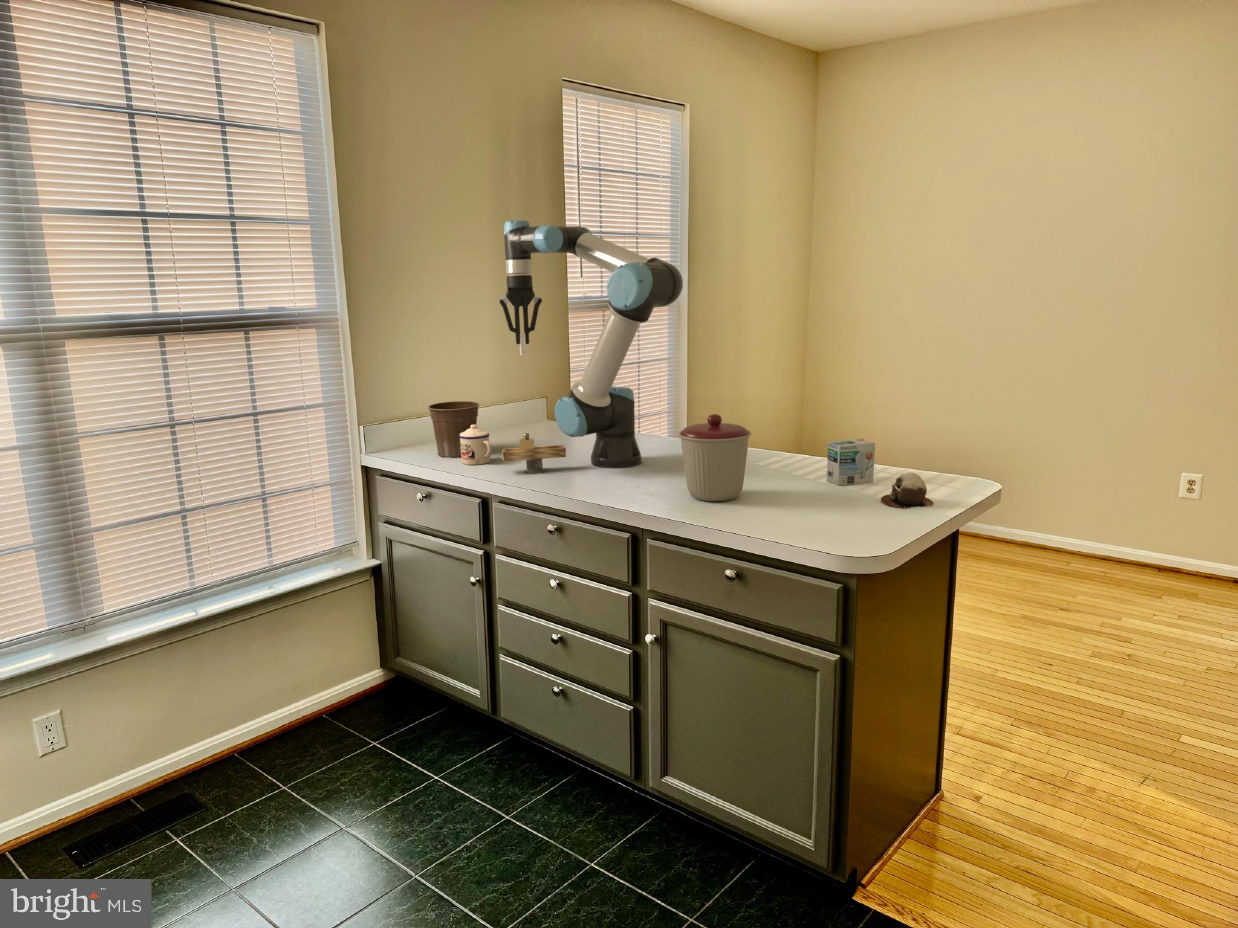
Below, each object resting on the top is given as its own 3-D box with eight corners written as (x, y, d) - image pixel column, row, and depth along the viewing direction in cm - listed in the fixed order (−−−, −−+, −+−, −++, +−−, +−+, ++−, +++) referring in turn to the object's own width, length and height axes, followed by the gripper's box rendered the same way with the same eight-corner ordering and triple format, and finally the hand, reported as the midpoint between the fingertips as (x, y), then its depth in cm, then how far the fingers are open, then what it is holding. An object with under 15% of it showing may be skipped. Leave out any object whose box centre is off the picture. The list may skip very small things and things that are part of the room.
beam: (563, 466, 262) (562, 444, 260) (566, 470, 256) (565, 448, 255) (502, 471, 258) (501, 448, 257) (504, 475, 252) (503, 452, 251)
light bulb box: (838, 486, 230) (839, 445, 227) (825, 480, 236) (826, 441, 234) (874, 482, 233) (876, 442, 230) (861, 477, 239) (862, 438, 237)
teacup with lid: (455, 463, 271) (452, 425, 269) (478, 458, 278) (476, 421, 275) (479, 468, 263) (477, 429, 261) (503, 462, 270) (501, 425, 267)
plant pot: (473, 459, 275) (469, 408, 272) (423, 459, 278) (419, 408, 274) (488, 449, 291) (485, 401, 287) (442, 449, 293) (438, 401, 290)
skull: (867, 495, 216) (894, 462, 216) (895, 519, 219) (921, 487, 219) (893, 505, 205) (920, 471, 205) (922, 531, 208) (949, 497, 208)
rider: (533, 451, 257) (532, 432, 256) (534, 453, 255) (533, 434, 253) (519, 452, 256) (518, 433, 255) (520, 454, 254) (519, 434, 253)
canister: (694, 509, 212) (693, 422, 207) (669, 492, 228) (667, 411, 224) (763, 501, 216) (763, 417, 212) (733, 485, 233) (733, 406, 229)
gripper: (539, 274, 264) (543, 353, 269) (495, 275, 262) (500, 355, 267) (542, 274, 257) (546, 355, 262) (498, 275, 255) (502, 357, 260)
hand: (523, 355), depth 265 cm, fingers closed
